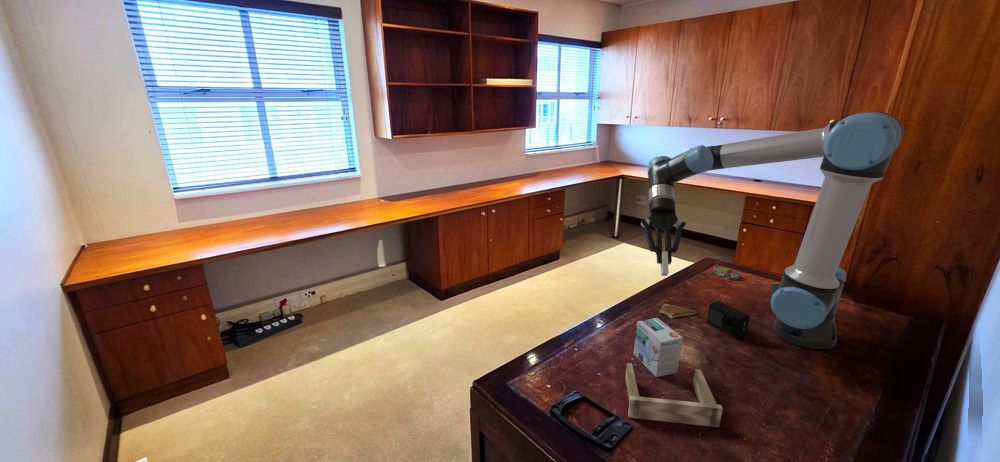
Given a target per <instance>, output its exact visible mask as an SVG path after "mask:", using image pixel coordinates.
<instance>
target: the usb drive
mask: <svg viewBox="0 0 1000 462" xmlns="http://www.w3.org/2000/svg"><path fill="white" fill-rule="evenodd" d="M779 286H780V283H778V282H773V283H772V284H771V285H770V288H769V292H770V291H771V294H770V299H771V298H772V295H773V294H774V292H775V291H777V290H778V288H779Z"/></svg>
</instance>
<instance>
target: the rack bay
mask: <svg viewBox="0 0 1000 462" xmlns="http://www.w3.org/2000/svg"><path fill="white" fill-rule="evenodd" d="M693 375H694V376H693V379H692V381H693V382H692V385H691V386H692V388H693V391H694V393H695V395H696V398H697V400H698V402H696V401H688V400H687V401H685V400H677V399H668V398H667V399H666V398H659V397H658V398H656V397H648V396H640V394H639V388H638V385H637V382H636V381H637V380H636V375H635V372H634V367H633V363H631V362H626V369H625V376H624V377H625V378H624V381H625V385H626V386H625V387H626V390H627V396H628V401H629V402H628V411H627V415H628V418H631V419H639V420H648V421H649V420H650V421H659V422H667V423H676V424H677V423H678V424H684V425H685V424H686V425H693V426H694V425H695V426H703V427H705V426H706V427H712V428H719V427H720V424H721V418H722V414H723V406H722V405H721V404H717V402H716V399H715V398H714V395H713V393H712V392H711V389H710V387H709V385H708V382H707V380H706V379H705V376H704V374H703V372H702V369H700V368H699V369H698V368H695V369H694V374H693Z"/></svg>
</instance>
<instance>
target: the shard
mask: <svg viewBox="0 0 1000 462" xmlns="http://www.w3.org/2000/svg"><path fill="white" fill-rule="evenodd" d="M659 313H660V314H662V315H665V316H667V317H668V318H670V319H674V318H678V317H679V318H680V317H687V316H688V317H689V316H693V315H697V314H698V313H699V311H698V310H693V309H689V308H686V307H681V306H678V305H673V304H669V303H663V304H662V307H661V308H660V309H659Z"/></svg>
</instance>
